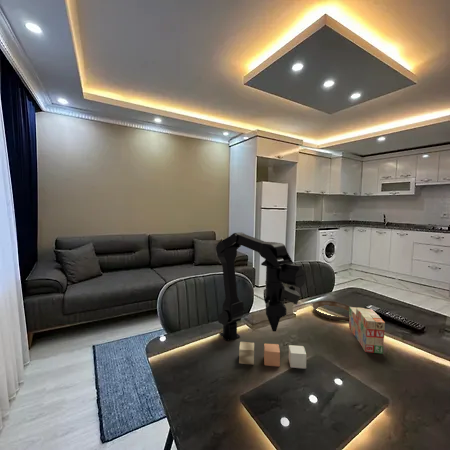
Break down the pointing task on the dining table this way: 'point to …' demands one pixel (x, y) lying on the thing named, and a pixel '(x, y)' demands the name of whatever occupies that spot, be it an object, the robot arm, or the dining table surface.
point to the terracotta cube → (271, 355)
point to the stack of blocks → (367, 329)
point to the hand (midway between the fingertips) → (273, 324)
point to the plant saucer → (331, 303)
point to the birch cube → (246, 353)
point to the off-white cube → (297, 356)
